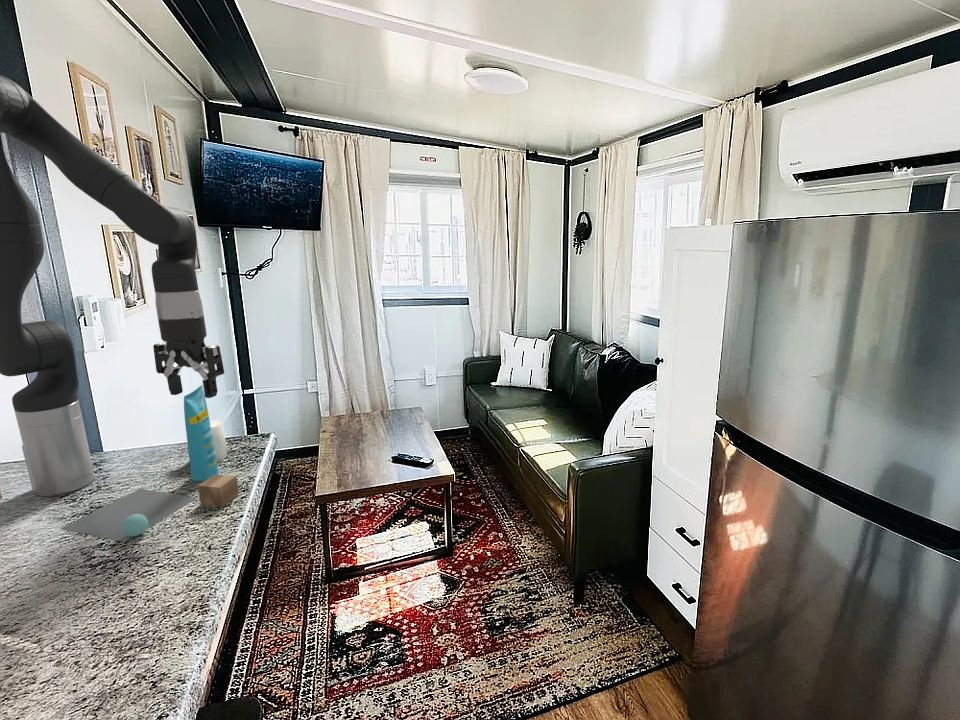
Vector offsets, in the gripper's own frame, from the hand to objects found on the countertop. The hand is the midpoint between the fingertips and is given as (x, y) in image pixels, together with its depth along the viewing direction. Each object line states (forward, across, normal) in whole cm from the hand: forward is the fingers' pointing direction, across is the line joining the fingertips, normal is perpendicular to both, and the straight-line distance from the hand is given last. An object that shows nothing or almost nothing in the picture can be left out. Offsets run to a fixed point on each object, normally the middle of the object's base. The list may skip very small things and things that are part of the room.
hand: (194, 395), depth 92 cm
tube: (+18, 0, 0) cm, 18 cm away
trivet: (+18, -1, -15) cm, 23 cm away
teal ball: (+18, +6, -20) cm, 27 cm away
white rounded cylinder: (+18, -7, +8) cm, 21 cm away
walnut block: (+16, +8, -7) cm, 19 cm away
